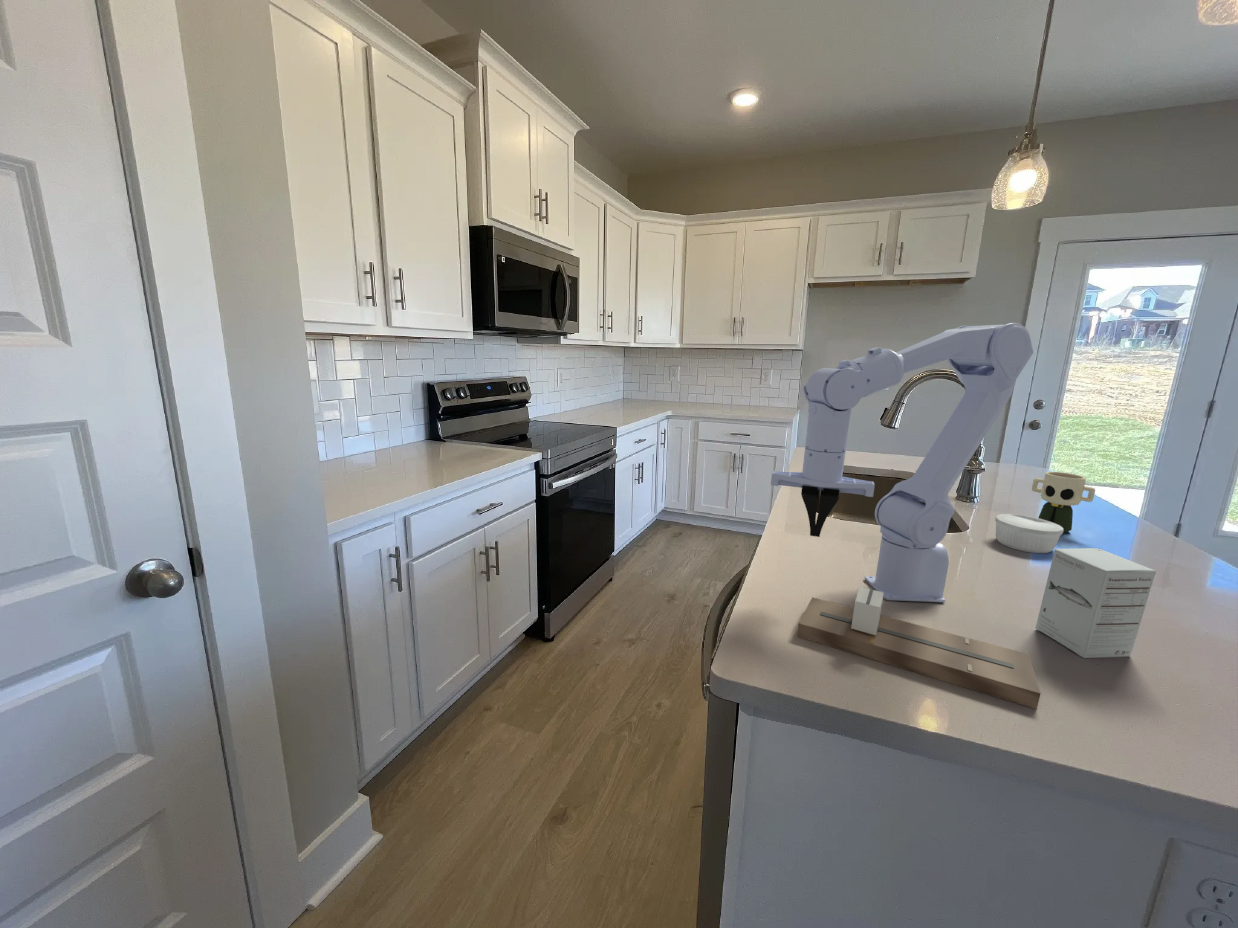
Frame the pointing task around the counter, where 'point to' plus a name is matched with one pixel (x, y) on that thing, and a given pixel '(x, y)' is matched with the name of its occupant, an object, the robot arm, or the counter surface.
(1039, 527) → the ramekin
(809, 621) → the fader board
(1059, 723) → the counter surface
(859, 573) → the counter surface
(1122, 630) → the supplement box
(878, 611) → the fader knob
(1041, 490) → the character mug
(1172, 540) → the counter surface
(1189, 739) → the counter surface
